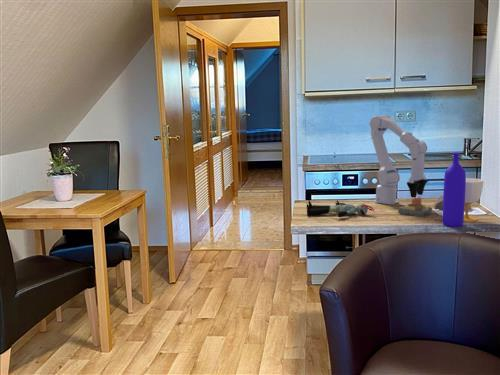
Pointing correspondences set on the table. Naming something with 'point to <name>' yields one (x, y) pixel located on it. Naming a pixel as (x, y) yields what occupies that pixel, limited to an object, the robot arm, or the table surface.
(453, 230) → the table surface
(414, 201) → the can
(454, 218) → the bottle
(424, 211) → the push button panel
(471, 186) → the cup
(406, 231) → the table surface
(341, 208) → the toy
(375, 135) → the robot arm
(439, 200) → the stone
